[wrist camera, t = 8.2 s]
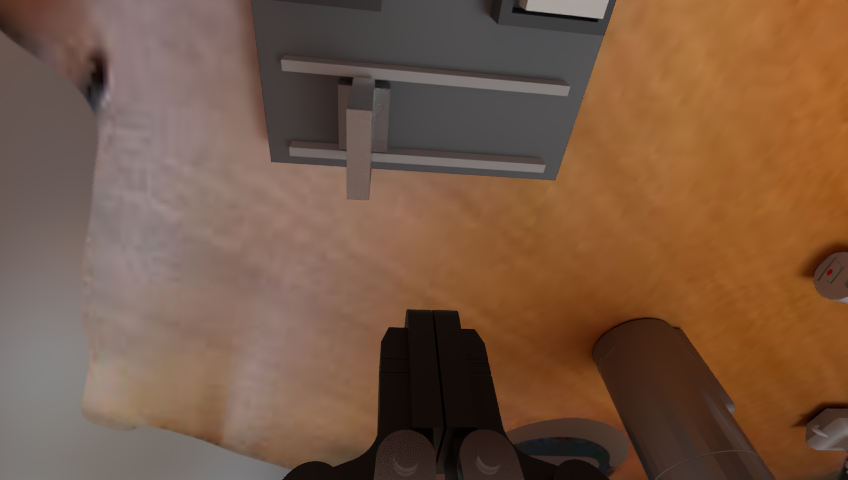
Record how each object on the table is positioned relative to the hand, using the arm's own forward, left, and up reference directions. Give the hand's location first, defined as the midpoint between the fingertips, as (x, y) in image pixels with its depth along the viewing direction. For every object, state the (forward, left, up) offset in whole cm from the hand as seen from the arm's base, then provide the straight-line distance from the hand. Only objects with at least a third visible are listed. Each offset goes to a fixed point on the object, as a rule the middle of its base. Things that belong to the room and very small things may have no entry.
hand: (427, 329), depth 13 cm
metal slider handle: (+3, 0, -17) cm, 18 cm away
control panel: (-1, -5, -21) cm, 21 cm away
